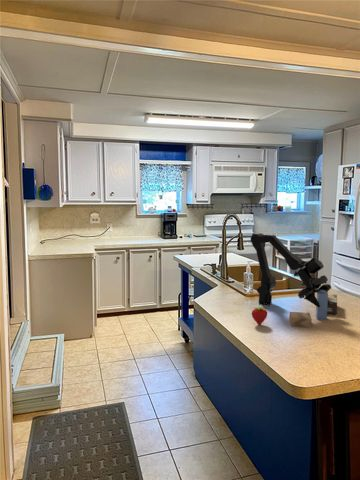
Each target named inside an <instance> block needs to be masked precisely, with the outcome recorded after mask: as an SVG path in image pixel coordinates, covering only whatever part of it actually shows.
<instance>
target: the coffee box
mask: <svg viewBox="0 0 360 480" xmlns="http://www.w3.org/2000/svg"><path fill="white" fill-rule="evenodd" d="M328 300H329V305H327V314H334V315H337V311H338V294H335V293H328Z"/></svg>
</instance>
